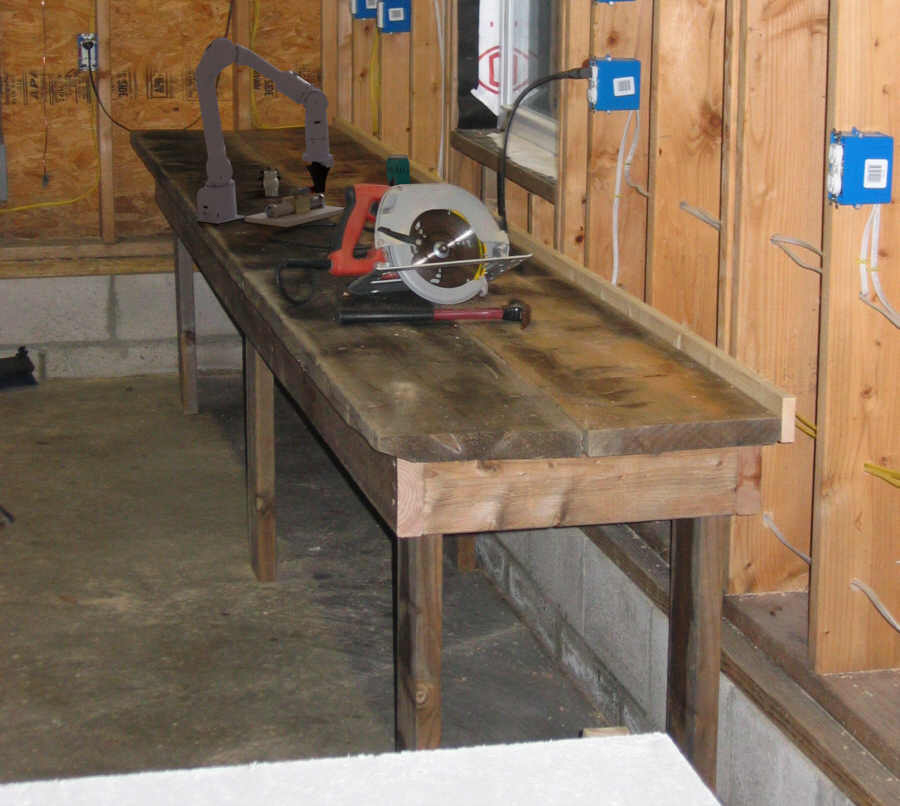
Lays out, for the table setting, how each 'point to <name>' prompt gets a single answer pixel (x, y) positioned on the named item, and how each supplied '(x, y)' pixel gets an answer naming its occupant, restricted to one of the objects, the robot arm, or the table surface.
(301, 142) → the table surface
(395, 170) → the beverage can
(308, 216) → the mounting board
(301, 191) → the valve lever
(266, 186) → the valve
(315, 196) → the valve body
